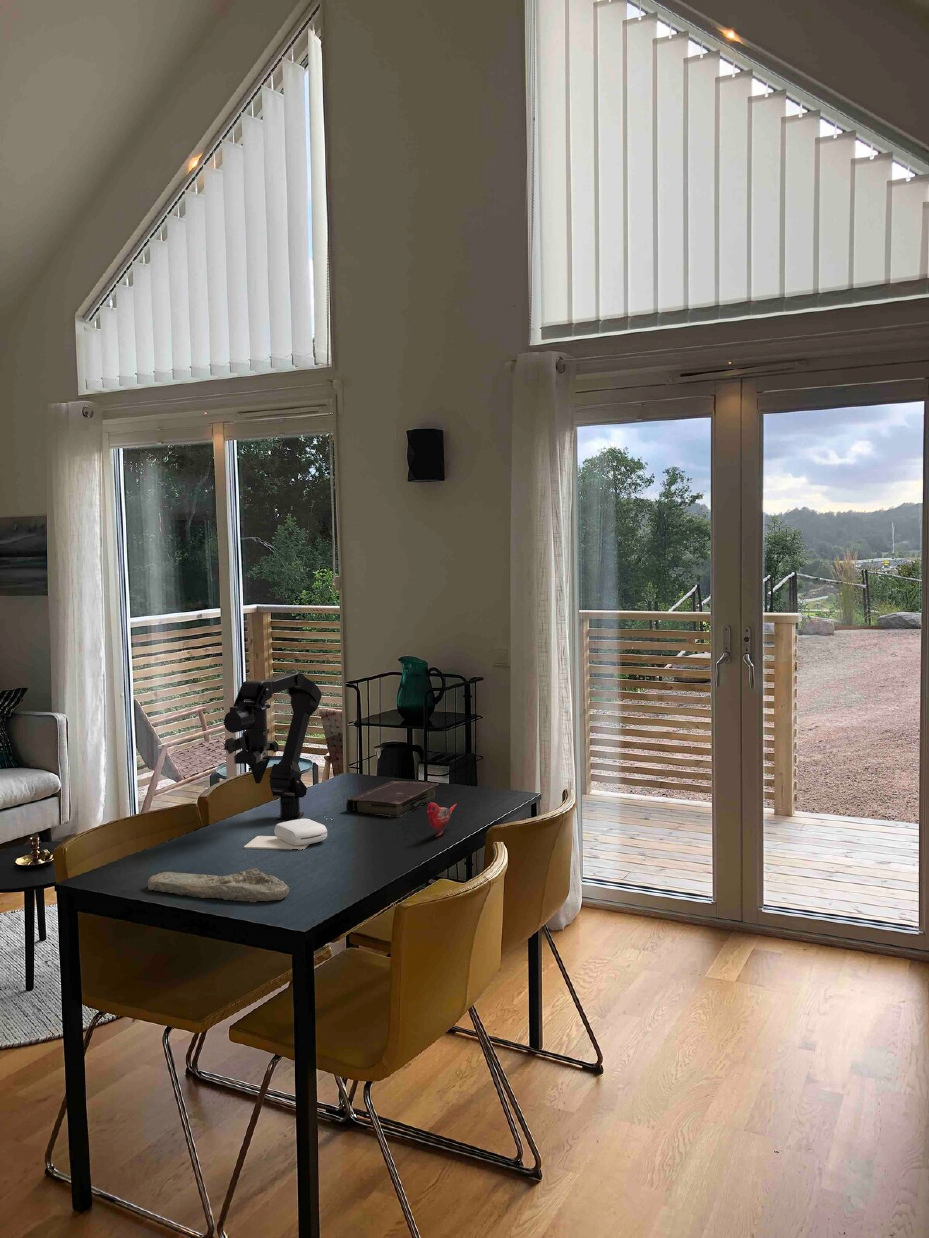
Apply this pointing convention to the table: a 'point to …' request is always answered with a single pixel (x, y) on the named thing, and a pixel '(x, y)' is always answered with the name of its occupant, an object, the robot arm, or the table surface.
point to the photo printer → (301, 831)
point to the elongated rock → (222, 885)
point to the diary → (393, 798)
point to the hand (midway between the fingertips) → (258, 783)
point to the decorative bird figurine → (439, 816)
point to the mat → (272, 843)
